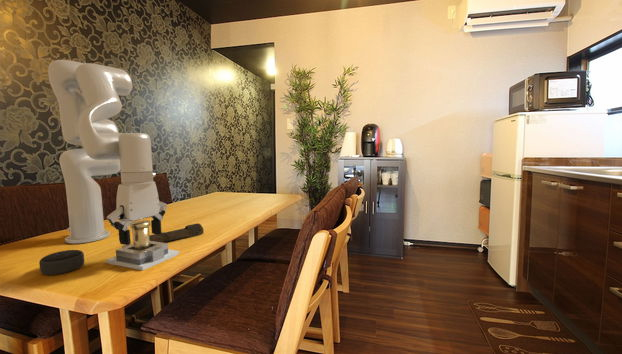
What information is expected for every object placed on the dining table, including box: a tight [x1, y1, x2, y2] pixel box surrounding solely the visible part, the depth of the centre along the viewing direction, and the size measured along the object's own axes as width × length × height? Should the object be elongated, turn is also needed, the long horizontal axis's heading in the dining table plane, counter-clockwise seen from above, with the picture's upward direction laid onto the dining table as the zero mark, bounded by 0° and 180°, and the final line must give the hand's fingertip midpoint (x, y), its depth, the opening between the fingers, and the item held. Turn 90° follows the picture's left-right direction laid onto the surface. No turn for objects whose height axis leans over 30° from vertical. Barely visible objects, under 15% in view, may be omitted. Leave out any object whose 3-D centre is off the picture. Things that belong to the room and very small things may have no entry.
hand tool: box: [149, 223, 205, 243], centre depth 99 cm, size 19×4×5 cm, turn 132°
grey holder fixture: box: [115, 241, 169, 265], centre depth 81 cm, size 14×9×3 cm, turn 69°
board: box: [105, 248, 180, 271], centre depth 82 cm, size 14×12×1 cm
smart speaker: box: [38, 249, 85, 276], centre depth 76 cm, size 9×9×4 cm
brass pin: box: [129, 219, 151, 251], centre depth 80 cm, size 5×5×10 cm
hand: (141, 238), depth 81 cm, fingers open, 9 cm apart
